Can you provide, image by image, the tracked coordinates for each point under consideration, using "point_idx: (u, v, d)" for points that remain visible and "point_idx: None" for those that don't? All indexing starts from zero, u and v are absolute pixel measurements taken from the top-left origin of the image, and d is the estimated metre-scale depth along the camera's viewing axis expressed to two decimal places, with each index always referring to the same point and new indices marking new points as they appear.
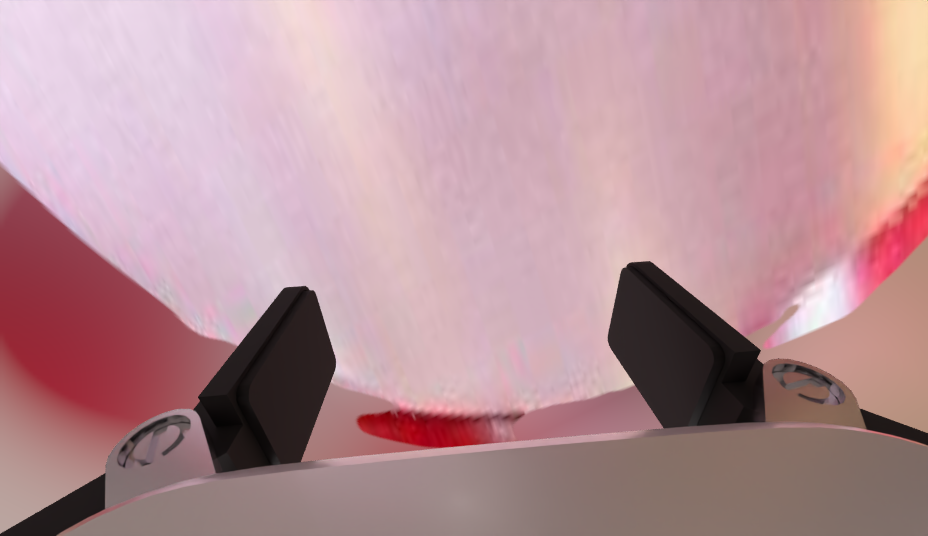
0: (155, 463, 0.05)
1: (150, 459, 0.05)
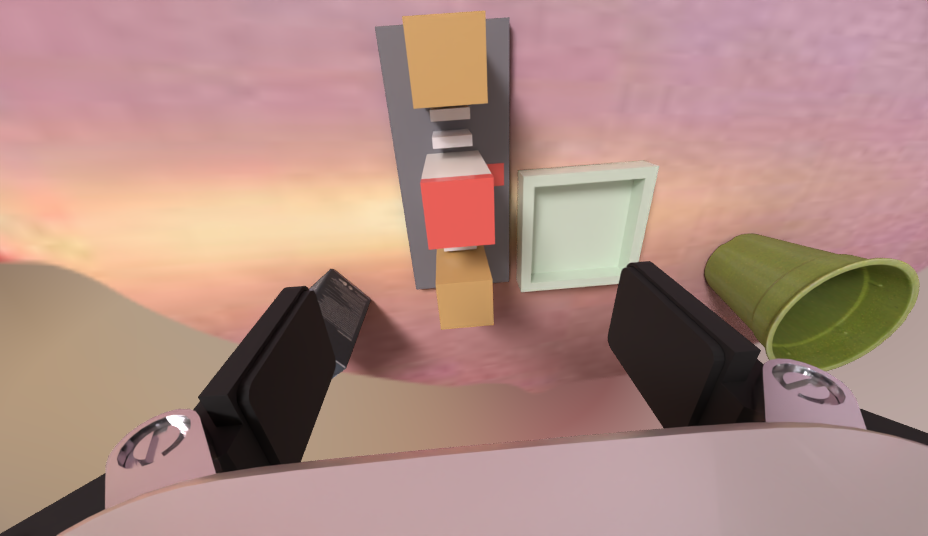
0: (155, 463, 0.05)
1: (150, 459, 0.05)
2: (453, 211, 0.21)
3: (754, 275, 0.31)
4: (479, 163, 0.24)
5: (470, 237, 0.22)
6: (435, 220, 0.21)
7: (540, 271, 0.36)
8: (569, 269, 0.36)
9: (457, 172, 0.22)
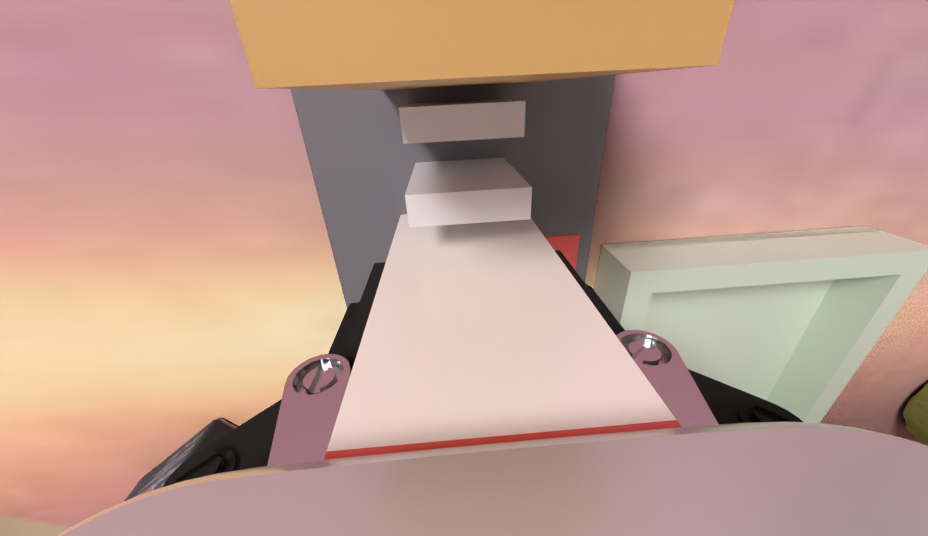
0: (314, 395, 0.06)
1: (312, 389, 0.06)
2: None
3: None
4: (560, 287, 0.07)
5: None
6: None
7: None
8: None
9: (500, 373, 0.05)
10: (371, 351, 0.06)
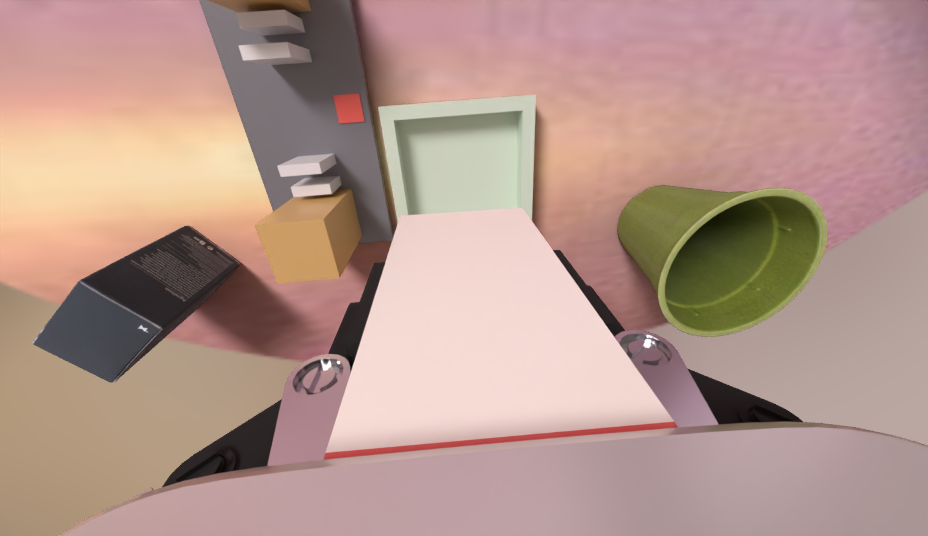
0: (314, 395, 0.06)
1: (312, 390, 0.06)
2: None
3: (653, 224, 0.27)
4: (559, 288, 0.07)
5: None
6: None
7: None
8: None
9: (499, 375, 0.05)
10: (370, 352, 0.06)
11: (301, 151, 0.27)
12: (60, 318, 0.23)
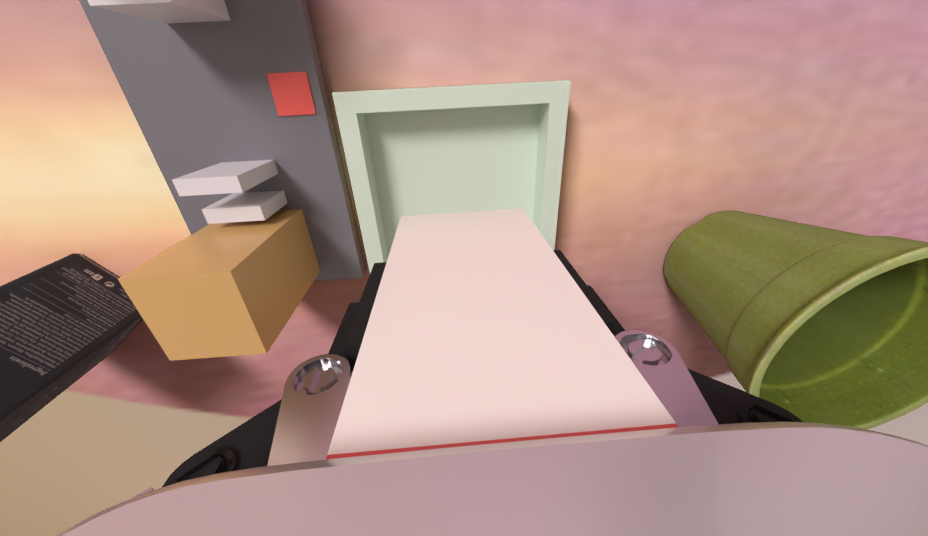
0: (314, 395, 0.06)
1: (312, 390, 0.06)
2: None
3: (733, 273, 0.19)
4: (560, 289, 0.07)
5: None
6: None
7: None
8: None
9: (500, 376, 0.05)
10: (371, 354, 0.06)
11: (226, 155, 0.19)
12: None
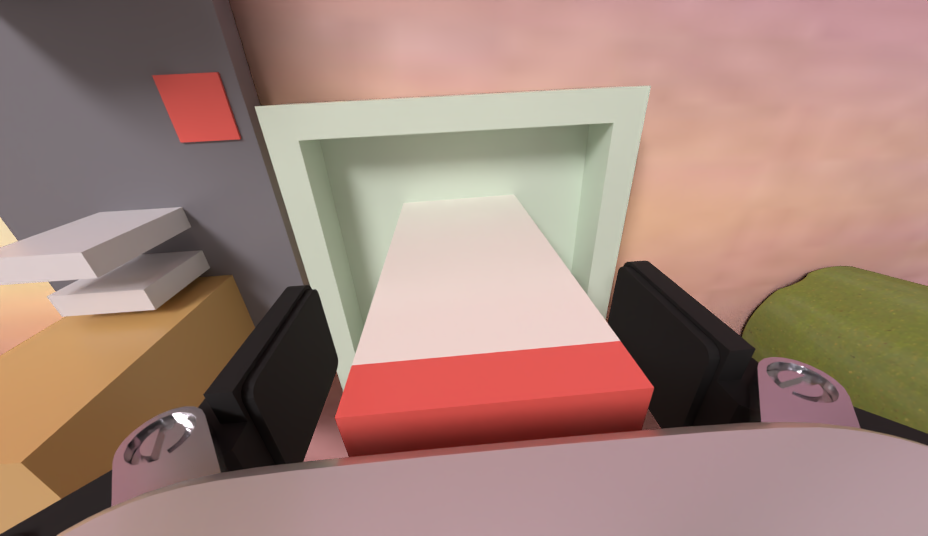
0: (161, 460, 0.05)
1: (156, 456, 0.05)
2: None
3: (895, 384, 0.12)
4: (540, 255, 0.09)
5: None
6: None
7: None
8: None
9: (486, 315, 0.06)
10: (382, 303, 0.07)
11: (105, 201, 0.12)
12: None
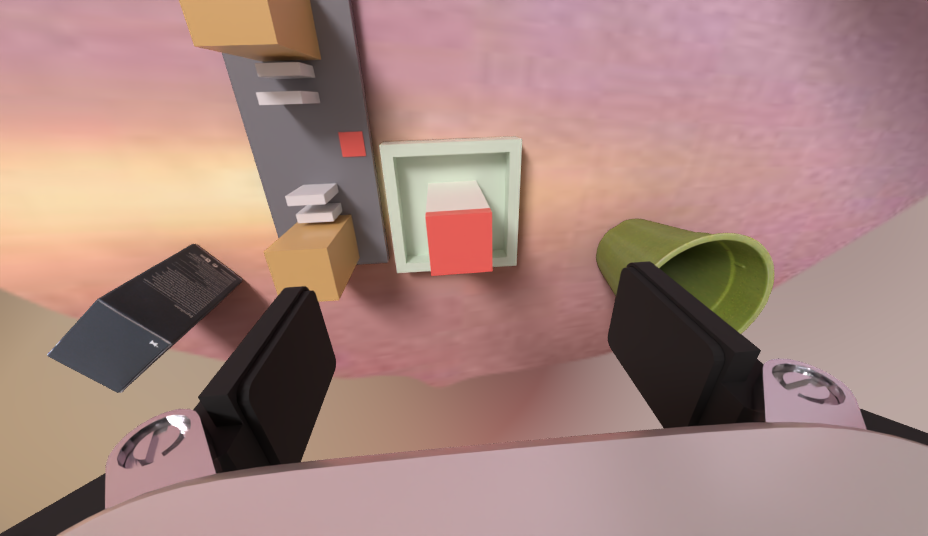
0: (155, 463, 0.05)
1: (150, 459, 0.05)
2: (454, 241, 0.23)
3: (626, 256, 0.30)
4: (478, 196, 0.26)
5: (470, 265, 0.24)
6: (438, 250, 0.23)
7: (421, 252, 0.34)
8: None
9: (458, 205, 0.24)
10: (429, 204, 0.25)
11: (306, 180, 0.30)
12: (76, 332, 0.24)
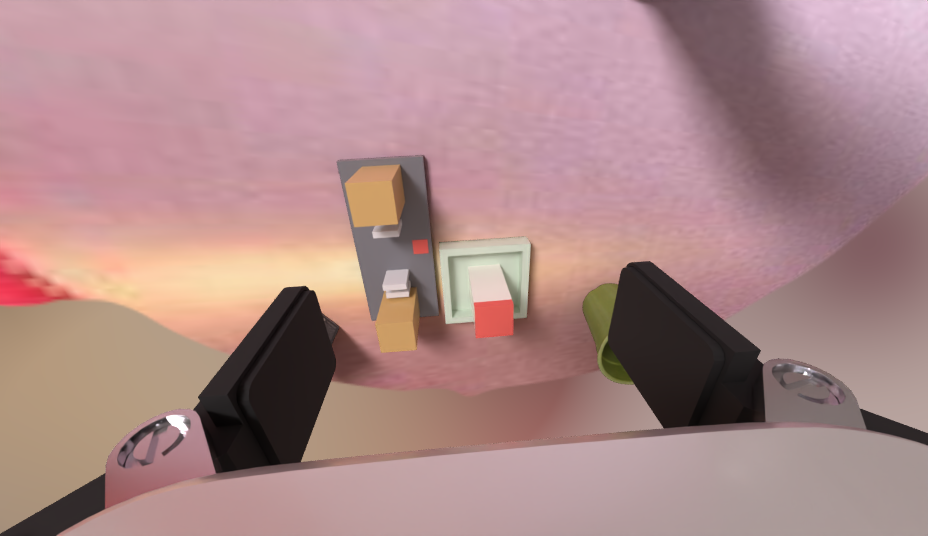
0: (155, 463, 0.05)
1: (150, 459, 0.05)
2: (491, 319, 0.39)
3: (599, 316, 0.45)
4: (503, 284, 0.42)
5: (499, 331, 0.40)
6: (481, 324, 0.39)
7: (461, 308, 0.50)
8: None
9: (492, 296, 0.40)
10: (474, 294, 0.40)
11: (389, 268, 0.45)
12: None
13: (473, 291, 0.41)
